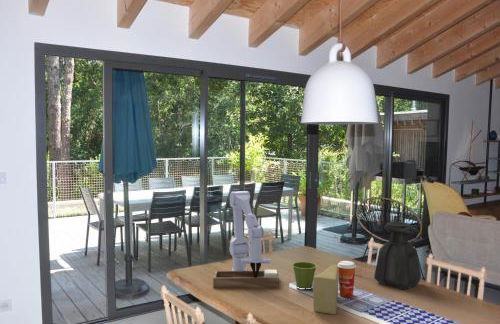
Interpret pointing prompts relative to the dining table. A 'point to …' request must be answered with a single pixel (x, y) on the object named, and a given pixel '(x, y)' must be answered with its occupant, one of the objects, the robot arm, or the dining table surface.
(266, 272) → the cream block
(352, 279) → the coffee cup
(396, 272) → the black faceted vase
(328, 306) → the cheese
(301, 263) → the plant pot
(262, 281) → the trap box
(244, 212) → the robot arm
